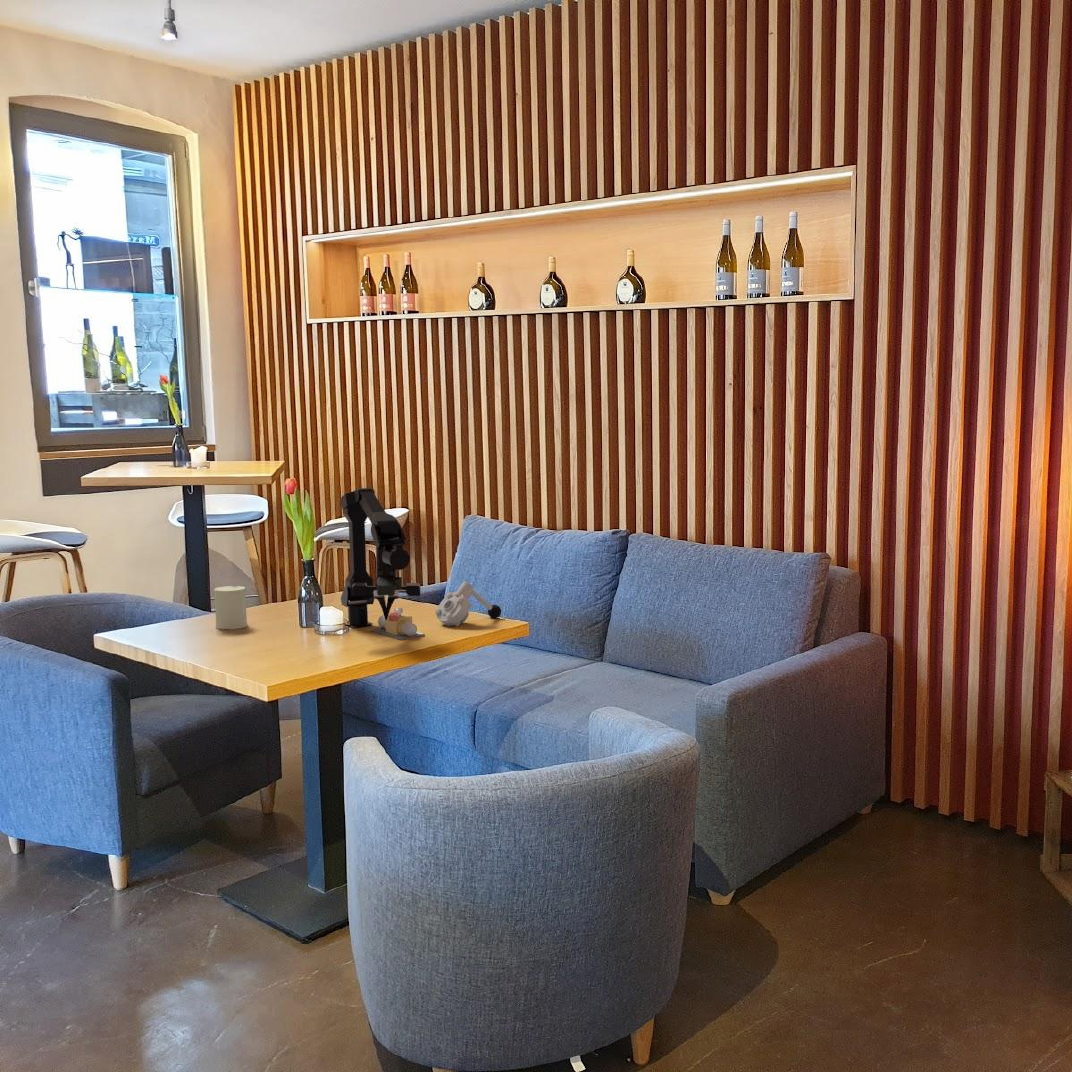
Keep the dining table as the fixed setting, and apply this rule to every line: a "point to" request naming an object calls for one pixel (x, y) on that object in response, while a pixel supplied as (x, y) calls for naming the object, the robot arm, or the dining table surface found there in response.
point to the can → (230, 607)
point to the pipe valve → (398, 627)
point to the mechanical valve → (461, 606)
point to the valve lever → (395, 614)
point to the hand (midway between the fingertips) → (386, 620)
